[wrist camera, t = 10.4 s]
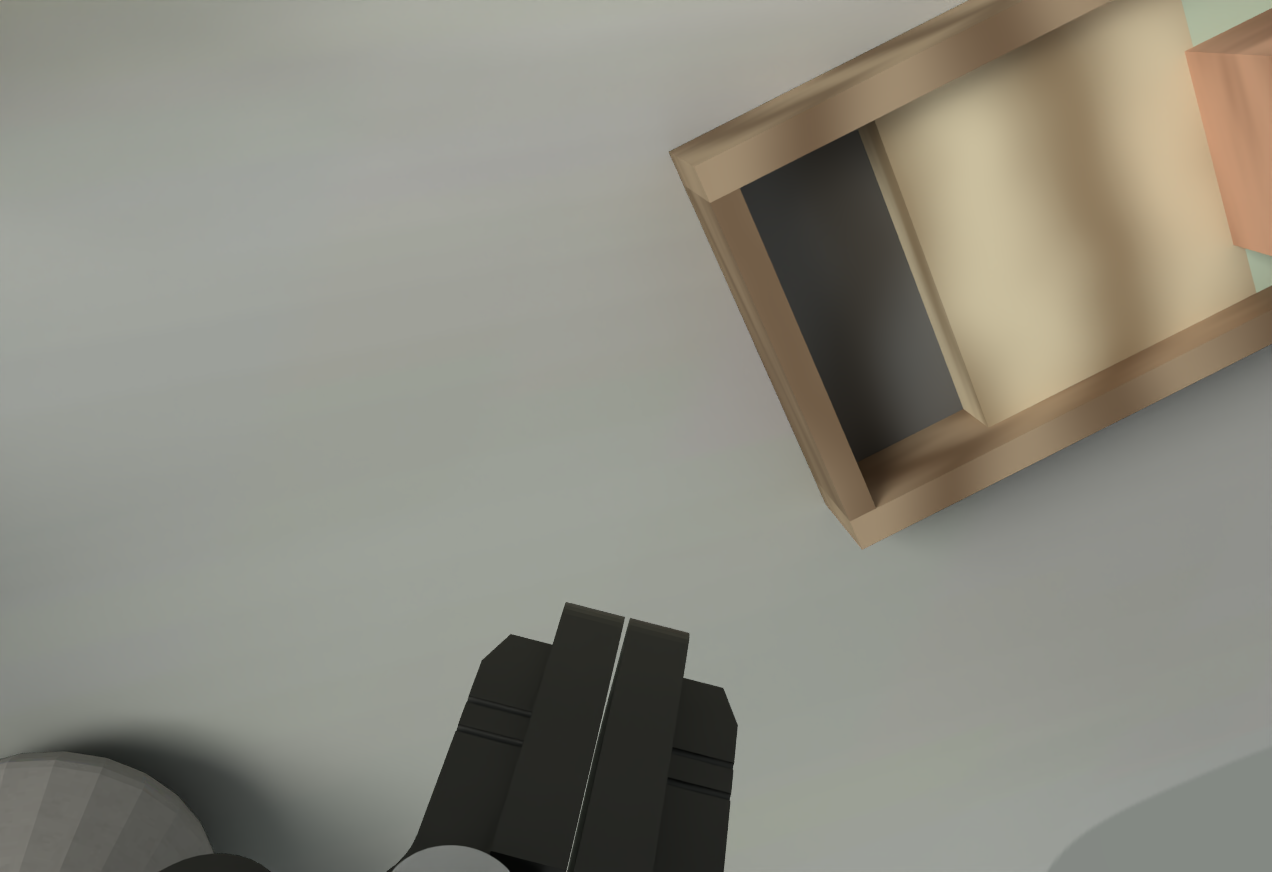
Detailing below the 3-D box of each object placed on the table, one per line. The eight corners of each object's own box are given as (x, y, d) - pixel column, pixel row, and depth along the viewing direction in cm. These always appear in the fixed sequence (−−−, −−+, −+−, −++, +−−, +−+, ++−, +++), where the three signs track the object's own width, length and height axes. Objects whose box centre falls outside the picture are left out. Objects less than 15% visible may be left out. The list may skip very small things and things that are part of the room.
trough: (825, 504, 44) (862, 549, 41) (668, 151, 39) (694, 166, 35) (1615, 107, 44) (1725, 116, 40) (1567, -302, 39) (1687, -336, 35)
